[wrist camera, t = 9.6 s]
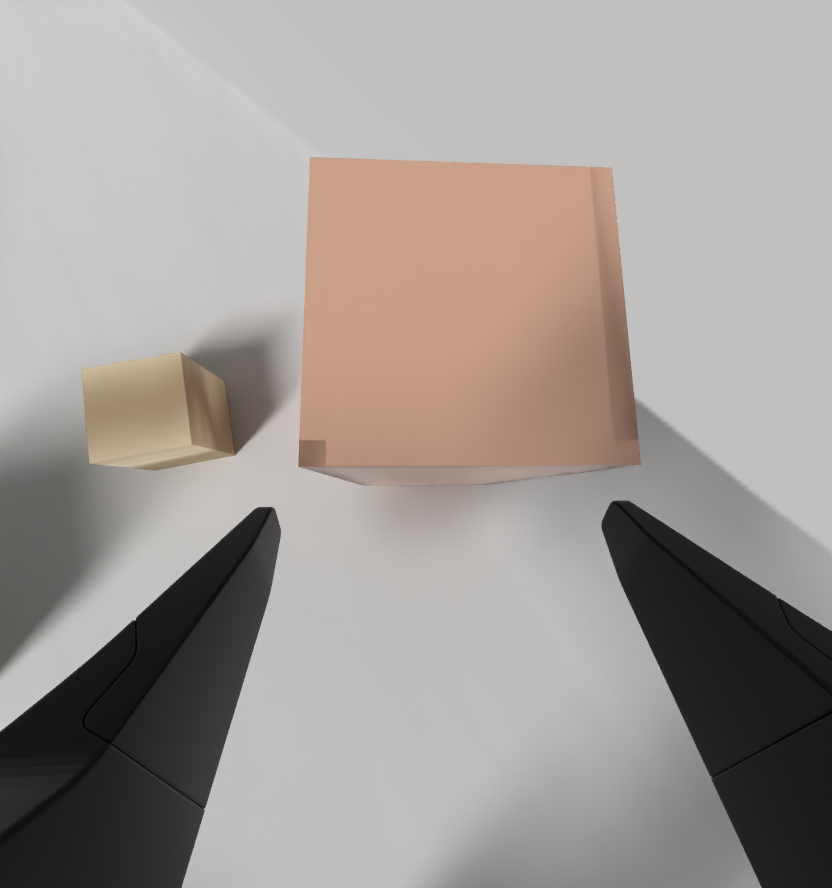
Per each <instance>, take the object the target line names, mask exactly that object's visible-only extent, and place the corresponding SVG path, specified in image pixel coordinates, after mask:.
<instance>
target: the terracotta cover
mask: <svg viewBox="0 0 832 888" xmlns="http://www.w3.org/2000/svg"><path fill="white" fill-rule="evenodd" d="M632 382H633V381H632V372H631V362H630V351H629V340H628V330H627V321H626V310H625V299H624V290H623V279H622V269H621V259H620V248H619V238H618V227H617V217H616V208H615V197H614V186H613V176H612V168H603V167H602V168H601V167H574V166H545V165H517V164H489V163H460V162H458V163H457V162H433V161H403V160H376V159H347V158H345V159H344V158H319V157H310V174H309V200H308V227H307V253H306V280H305V306H304V332H303V359H302V385H301V412H300V438H299V464H298V467H301V468H305V469H308V470H312V471H315V472H319V473H322V474H325V475H329V476H332V477H336V478H339V479H343V480H346V481H350V482H353V483H356V484H360V485H471V484H496V483H504V482H512V481H519V480H527V479H535V478H543V477H551V476H559V475H566V474H574V473H582V472H590V471H598V470H606V469H613V468H621V467H629V466H637V465H641V464H640V453H639V443H638V433H637V422H636V412H635V402H634V392H633V383H632Z"/></svg>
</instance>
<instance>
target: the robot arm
mask: <svg viewBox="0 0 832 888" xmlns="http://www.w3.org/2000/svg"><path fill="white" fill-rule="evenodd" d="M601 527H602V531H603V534H604V537H605V540H606V543H607V546H608V549H609V552H610V555H611V558H612V560H613V563H614V566H615V569H616V572H617V575H618V577H619V580H620V582H621V585H622V587H623V589H624V592H625V594H626V596H627V598H628V600H629V602H630V605H631V607H632V609H633V611H634V613H635V615H636V617H637V620H638V622H639V624H640V626H641V628H642V630H643V632H644V635H645V637H646V639H647V641H648V643H649V645H650V648H651V650H652V652H653V654H654V656H655V658H656V660H657V663H658V665H659V667H660V669H661V671H662V673H663V676H664V678H665V680H666V682H667V684H668V686H669V688H670V691H671V693H672V695H673V697H674V699H675V701H676V704H677V706H678V708H679V710H680V712H681V714H682V716H683V719H684V721H685V723H686V725H687V727H688V729H689V731H690V734H691V736H692V738H693V740H694V742H695V744H696V747H697V749H698V751H699V753H700V755H701V757H702V759H703V762H704V764H705V766H706V768H707V770H708V772H709V775H710V776H711V777H712V778H711V779H712V782H713V784H714V786H715V788H716V790H717V792H718V794H719V797H720V799H721V801H722V803H723V805H724V807H725V810H726V812H727V814H728V816H729V818H730V820H731V822H732V825H733V827H734V829H735V831H736V833H737V835H738V837H739V840H740V842H741V844H742V846H743V848H744V850H745V853H746V855H747V857H748V859H749V861H750V863H751V865H752V868H753V870H754V872H755V874H756V876H757V878H758V880H759V883H760V885H761V887H762V888H832V631H830V630H829V629H827V628H826V627H824V626H822V625H821V624H819V623H818V622H816V621H814V620H813V619H811V618H810V617H808V616H806V615H805V614H803V613H802V612H800V611H799V610H797V609H795V608H794V607H792V606H791V605H789V604H788V603H786V602H785V601H783V600H782V599H779V598H777V597H776V596H775V595H774V594H772V593H771V592H769V591H768V590H766V589H764V588H763V587H761V586H760V585H758V584H757V583H755V582H754V581H752V580H751V579H749V578H747V577H746V576H744V575H743V574H741V573H740V572H738V571H737V570H735V569H734V568H732V567H730V566H729V565H727V564H726V563H724V562H723V561H721V560H720V559H718V558H717V557H715V556H713V555H712V554H710V553H709V552H707V551H706V550H704V549H703V548H701V547H700V546H698V545H696V544H695V543H693V542H692V541H690V540H689V539H687V538H686V537H684V536H683V535H681V534H679V533H678V532H676V531H675V530H673V529H672V528H670V527H669V526H667V525H666V524H664V523H662V522H661V521H659V520H658V519H656V518H655V517H653V516H652V515H650V514H649V513H647V512H645V511H644V510H642V509H641V508H639V507H638V506H636V505H635V504H633V503H631V502H630V501H613V502H611V503H610V505H609V507H608V509H607V511H606V513H605V516H604V518H603V520H602V524H601ZM280 537H281V529H280V525H279V522H278V518H277V515H276V511H275V509H274V508H273V507H258V508H256V509H254V510H253V511H252V512H251V513H250V514H249V515H248V516H247V517H246V518H245V519H243V520H242V521H241V522H240V523H239V524H238V525H237V526H236V527H235V528H234V529H233V530H231V531H230V532H229V533H228V534H227V535H226V536H225V537H224V538H223V539H222V540H220V541H219V542H218V543H217V544H216V545H215V546H214V547H213V548H212V549H211V550H210V551H208V552H207V553H206V554H205V555H204V556H203V557H202V558H201V559H200V560H199V561H198V562H196V563H195V564H194V565H193V566H192V567H191V568H190V569H189V570H188V571H187V572H185V573H184V574H183V575H182V576H181V577H180V578H179V579H178V580H177V581H176V582H175V583H173V584H172V585H171V586H170V587H169V588H168V589H167V590H166V591H165V592H164V593H163V594H161V595H160V596H159V597H158V598H157V599H156V600H155V601H154V602H153V603H152V604H150V605H149V606H148V607H147V608H146V609H145V610H144V611H143V612H142V613H141V614H140V615H138V616H137V618H136V621H135V620H133V621H132V622H131V623H130V624H128V625H127V626H126V627H125V628H124V629H123V630H122V631H121V632H120V633H119V634H117V635H116V636H115V637H114V638H113V639H112V640H111V641H110V642H108V643H107V644H106V645H105V646H104V647H103V648H102V649H101V650H99V651H98V652H97V653H96V654H95V655H94V656H93V657H91V658H90V659H89V660H88V661H87V662H86V663H84V664H83V665H82V666H81V667H79V668H78V669H77V670H76V671H75V672H73V673H72V674H71V675H70V676H69V677H67V678H66V679H65V680H64V681H63V682H61V683H60V684H59V685H58V686H56V687H55V688H54V689H53V690H51V691H50V692H49V693H48V694H47V695H45V696H44V697H43V698H42V699H40V700H39V701H38V702H37V703H35V704H34V705H33V706H32V707H30V708H29V709H28V710H27V711H25V712H24V713H23V714H22V715H20V716H19V717H18V718H17V719H15V720H14V721H13V722H12V723H10V724H9V725H8V726H7V727H5V728H4V729H3V730H2V731H0V888H181V887H182V884H183V881H184V877H185V874H186V871H187V867H188V864H189V861H190V858H191V854H192V851H193V848H194V844H195V841H196V838H197V834H198V831H199V828H200V824H201V821H202V818H203V815H204V808H205V807H206V804H207V801H208V797H209V794H210V791H211V787H212V784H213V781H214V777H215V774H216V771H217V768H218V764H219V761H220V758H221V754H222V751H223V748H224V744H225V741H226V738H227V735H228V731H229V728H230V725H231V721H232V718H233V715H234V711H235V708H236V705H237V701H238V698H239V695H240V692H241V688H242V685H243V682H244V678H245V675H246V672H247V668H248V665H249V662H250V659H251V655H252V652H253V649H254V645H255V642H256V639H257V635H258V632H259V629H260V625H261V622H262V619H263V616H264V612H265V609H266V606H267V602H268V599H269V595H270V591H271V586H272V581H273V576H274V570H275V565H276V559H277V554H278V548H279V542H280Z"/></svg>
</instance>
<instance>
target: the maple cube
mask: <svg viewBox="0 0 832 888" xmlns="http://www.w3.org/2000/svg"><path fill="white" fill-rule="evenodd" d="M82 381H83V393H84V405H85V417H86V430H87V442H88V454H89V464H98V465H108V466H117V467H127V468H137V469H146V470H160V469H165V468H171V467H176V466H181V465H186V464H192V463H197V462H202V461H207V460H213V459H218V458H223V457H228V456H234V455H235V449H234V442H233V435H232V427H231V420H230V413H229V406H228V398H227V391H226V384H225V381H224V380H222V379H221V378H219V377H218V376H216V375H214V374H213V373H211V372H210V371H208V370H207V369H205V368H204V367H202V366H201V365H199V364H198V363H196V362H195V361H193V360H191V359H190V358H188V357H187V356H185V355H184V354H182V353H181V352H179V353H173V354H168V355H162V356H156V357H150V358H144V359H138V360H132V361H126V362H120V363H115V364H109V365H103V366H97V367H91V368H85V369H82Z"/></svg>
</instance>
